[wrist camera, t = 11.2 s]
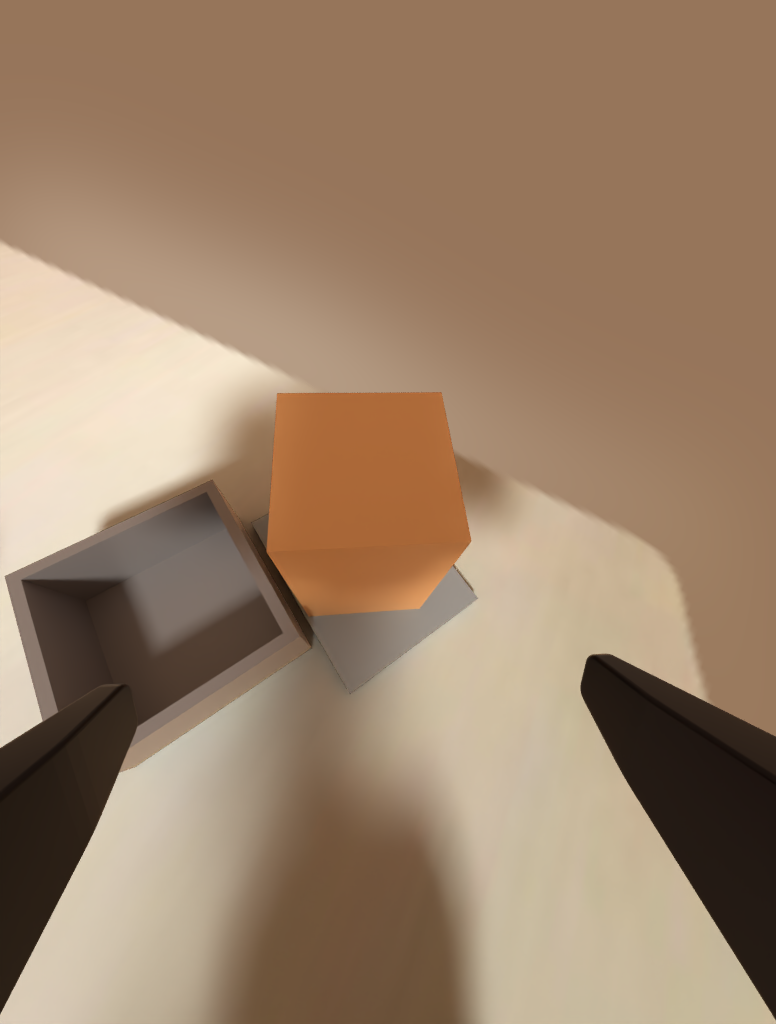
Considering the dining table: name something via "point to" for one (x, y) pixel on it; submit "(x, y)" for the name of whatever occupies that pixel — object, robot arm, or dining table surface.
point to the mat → (381, 627)
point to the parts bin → (156, 617)
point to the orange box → (364, 500)
